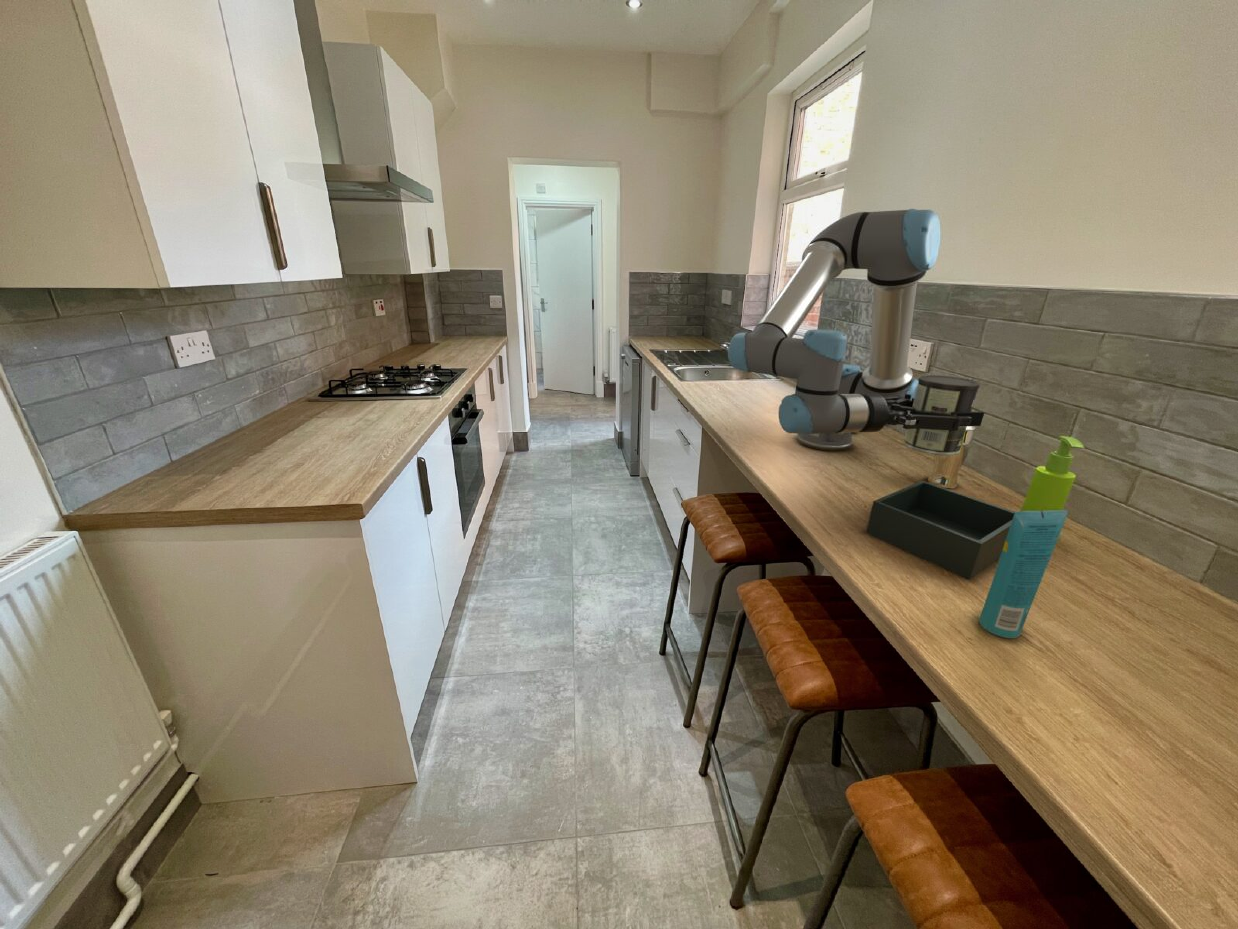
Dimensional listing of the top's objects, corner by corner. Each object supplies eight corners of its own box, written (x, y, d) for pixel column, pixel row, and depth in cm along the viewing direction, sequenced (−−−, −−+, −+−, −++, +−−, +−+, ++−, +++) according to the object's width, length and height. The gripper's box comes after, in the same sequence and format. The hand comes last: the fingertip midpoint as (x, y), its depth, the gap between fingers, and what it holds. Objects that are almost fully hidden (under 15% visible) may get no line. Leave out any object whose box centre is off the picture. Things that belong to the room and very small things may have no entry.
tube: (1004, 614, 74) (1048, 501, 67) (1035, 636, 70) (1085, 518, 63) (962, 619, 73) (1002, 504, 66) (990, 642, 69) (1036, 522, 61)
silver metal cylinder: (953, 491, 116) (971, 431, 110) (921, 482, 120) (937, 424, 115) (962, 484, 120) (980, 425, 114) (931, 475, 125) (947, 419, 119)
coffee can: (947, 441, 105) (966, 376, 100) (968, 458, 96) (990, 387, 90) (895, 437, 107) (911, 373, 102) (911, 453, 97) (930, 383, 92)
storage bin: (913, 509, 107) (921, 480, 104) (1013, 548, 92) (1026, 515, 90) (865, 532, 97) (873, 501, 94) (969, 579, 83) (981, 544, 80)
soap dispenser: (1022, 537, 96) (1059, 442, 89) (1010, 522, 102) (1043, 431, 95) (1059, 543, 94) (1099, 446, 87) (1044, 527, 100) (1080, 435, 93)
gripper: (824, 415, 107) (915, 413, 111) (892, 451, 87) (1001, 447, 90) (830, 381, 105) (923, 380, 108) (902, 410, 84) (1014, 407, 87)
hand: (959, 411), depth 99 cm, fingers closed on coffee can, 10 cm apart
